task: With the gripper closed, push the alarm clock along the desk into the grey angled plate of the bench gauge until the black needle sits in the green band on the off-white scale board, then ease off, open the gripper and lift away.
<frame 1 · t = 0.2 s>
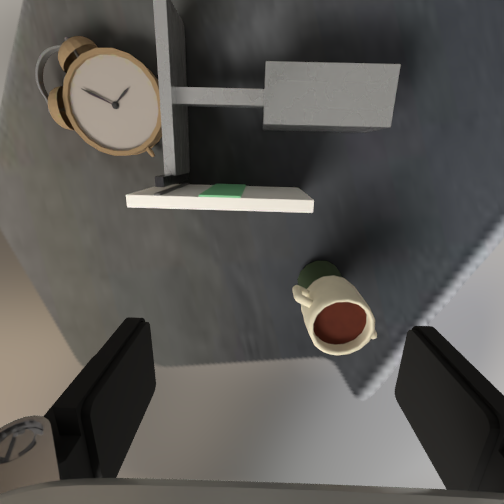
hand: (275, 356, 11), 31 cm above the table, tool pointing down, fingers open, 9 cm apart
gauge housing: (312, 106, 36), on the table
character mug: (317, 278, 43), on the table
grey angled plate: (217, 100, 31), point 6 cm above the table, slide at 0.0 cm
alarm clock: (113, 102, 37), on the table
scale board: (231, 187, 39), on the table
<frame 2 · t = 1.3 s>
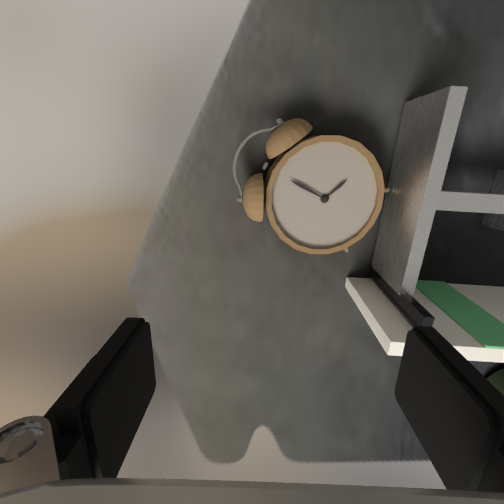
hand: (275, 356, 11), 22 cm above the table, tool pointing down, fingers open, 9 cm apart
character mug: (501, 380, 37), on the table
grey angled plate: (477, 208, 25), point 6 cm above the table, slide at 0.0 cm
alarm clock: (302, 185, 30), on the table
scale board: (425, 283, 33), on the table
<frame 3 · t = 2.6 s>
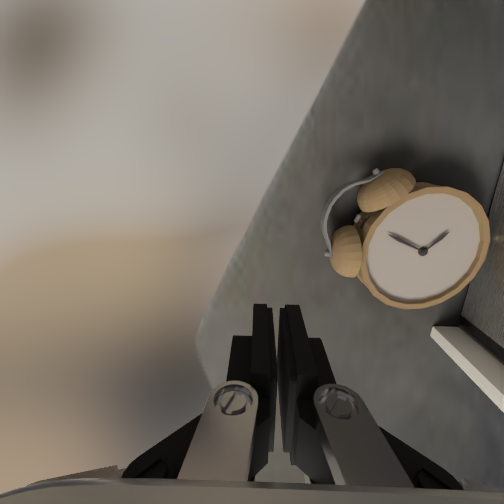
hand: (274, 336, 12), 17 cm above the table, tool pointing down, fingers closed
alarm clock: (388, 232, 28), on the table
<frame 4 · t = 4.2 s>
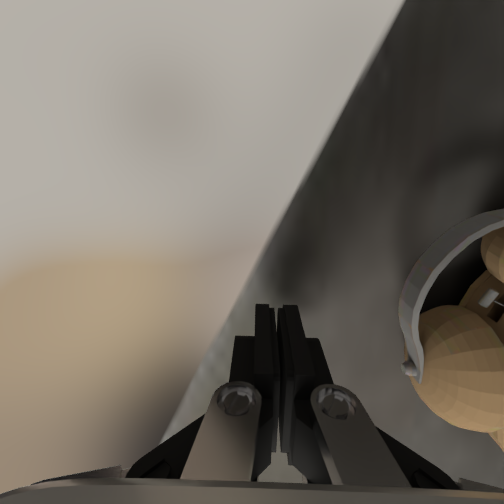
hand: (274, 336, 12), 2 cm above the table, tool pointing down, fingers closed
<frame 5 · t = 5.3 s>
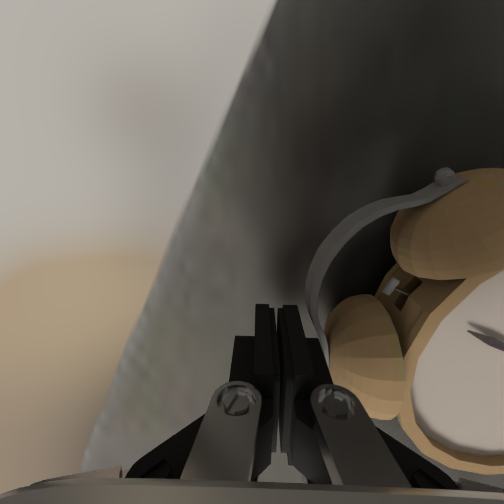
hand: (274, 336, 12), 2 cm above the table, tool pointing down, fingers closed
alarm clock: (446, 300, 14), on the table, touching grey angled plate, gripper
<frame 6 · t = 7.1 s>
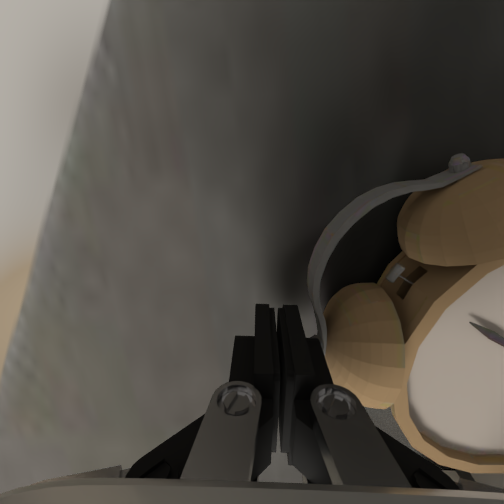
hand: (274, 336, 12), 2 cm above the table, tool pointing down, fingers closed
alarm clock: (444, 297, 14), on the table
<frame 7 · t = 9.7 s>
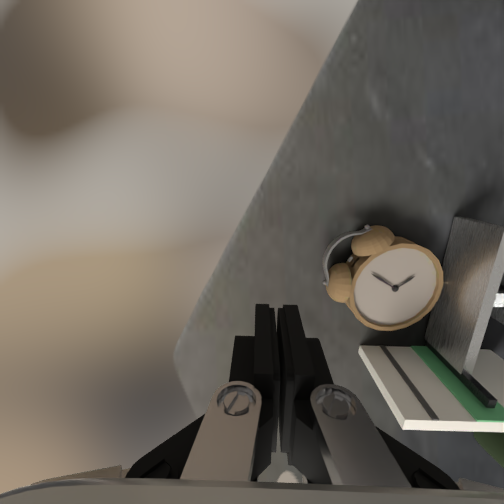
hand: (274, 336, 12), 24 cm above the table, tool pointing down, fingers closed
character mug: (490, 424, 44), on the table
alarm clock: (371, 270, 37), on the table
scale board: (424, 348, 40), on the table
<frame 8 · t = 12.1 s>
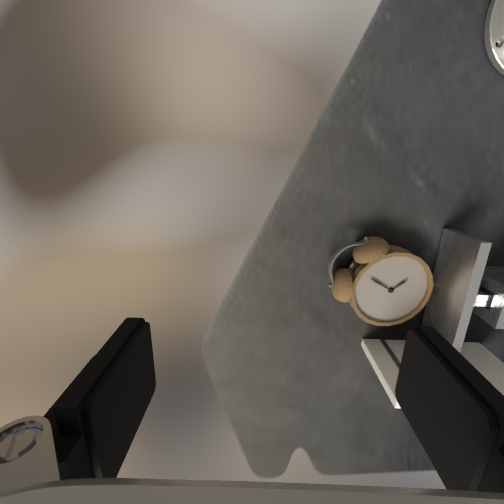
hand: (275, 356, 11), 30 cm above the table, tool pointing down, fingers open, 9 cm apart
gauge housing: (503, 284, 42), on the table
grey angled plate: (498, 305, 37), point 6 cm above the table, slide at 6.0 cm
alarm clock: (370, 274, 42), on the table
scale board: (420, 341, 45), on the table
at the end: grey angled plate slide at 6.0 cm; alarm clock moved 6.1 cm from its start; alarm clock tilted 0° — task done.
